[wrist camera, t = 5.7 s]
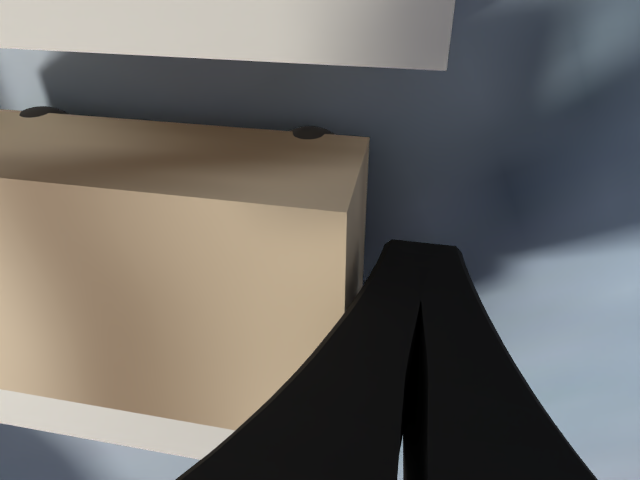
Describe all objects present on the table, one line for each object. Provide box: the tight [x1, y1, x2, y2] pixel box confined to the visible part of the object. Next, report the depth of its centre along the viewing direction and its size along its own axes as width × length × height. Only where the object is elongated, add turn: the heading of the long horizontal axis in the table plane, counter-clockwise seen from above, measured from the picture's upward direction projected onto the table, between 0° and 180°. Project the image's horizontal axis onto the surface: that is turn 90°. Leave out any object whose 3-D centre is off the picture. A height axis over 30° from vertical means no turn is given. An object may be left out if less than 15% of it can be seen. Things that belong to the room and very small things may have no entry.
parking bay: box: [0, 0, 455, 460], centre depth 11 cm, size 14×12×2 cm
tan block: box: [0, 106, 370, 430], centre depth 10 cm, size 7×5×3 cm
